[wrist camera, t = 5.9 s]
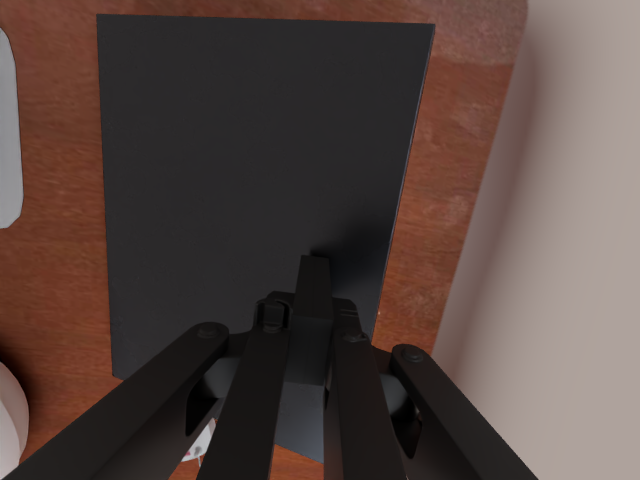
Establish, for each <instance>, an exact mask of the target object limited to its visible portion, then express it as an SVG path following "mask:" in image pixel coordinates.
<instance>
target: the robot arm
mask: <svg viewBox="0 0 640 480" xmlns="http://www.w3.org/2000/svg"><path fill="white" fill-rule="evenodd" d="M324 378H325V386H324V392H323V398H322V404H321V410H320V414H323V450H324V480H407V478H406V475H407V477H408V479H409V480H538V478H537V477H536V476H535V475H534V474H533V473H532V472H531V470H530V469H529V468H528V467H527V466H526V465H525V464H524V462H523V461H522V460H521V459H520V458H519V457H518V456H517V455H516V453H515V452H514V451H513V450H512V449H511V448H510V447H509V445H508V444H507V443H506V442H505V441H504V440H503V439H502V437H501V436H500V435H499V434H498V433H497V432H496V431H495V430H494V428H493V427H492V426H491V425H490V424H489V423H488V422H487V420H486V419H485V418H484V417H483V416H482V415H481V414H480V412H479V411H477V409H476V408H475V407H474V406H473V405H472V403H471V402H470V401H469V400H468V399H467V398H466V397H465V395H464V394H463V393H462V392H461V391H460V390H459V389H458V388H457V386H456V385H455V384H454V383H453V382H452V381H451V380H450V378H449V377H448V376H447V375H446V374H445V373H444V372H443V370H442V369H441V368H440V367H439V366H438V365H437V364H436V362H435V361H434V360H433V359H432V358H431V357H430V356H429V355H428V354H427V353H426V352H425V351H424V350H422V349H420V348H418V347H417V346H414V345H410V344H399V345H396V346H394V347H393V349H392V353H390V352H387V351H384V350H381V349H378V348H376V347H374V346H372V345H371V341H370V338H369V337H368V335H367V334H366V333H364V332H363V331H362V328H361V324H360V319H359V315H358V311H357V307H356V305H355V304H354V303H353V302H352V301H351V300H350V299H343V298H335V297H332V290H331V279H330V267H329V258H323V257H315V256H308V255H301V260H300V266H299V272H298V278H297V284H296V290H295V293H289V292H281V291H272V292H271V293H269V294H268V295H267V297H266V298H264V299H261V300H259V301H257V302H256V303H255V308H254V319H253V326H252V329H251V330H249V331H247V332H243V333H237V334H229V329H228V328H227V327H226V326H225V325H223V324H221V323H217V322H203V323H199V324H196V325H194V326H192V327H191V328H189V329H188V330H187V331H186V332H184V333H183V334H182V335H181V336H179V337H178V338H177V339H176V340H174V341H173V342H172V343H171V344H169V345H168V346H167V347H166V348H165V349H163V350H162V351H161V352H160V353H158V354H157V355H156V356H155V357H153V358H152V359H151V360H150V361H148V362H147V363H146V364H145V365H143V366H142V367H141V368H140V369H138V370H137V371H136V372H135V373H133V374H132V375H131V376H130V377H128V378H127V379H126V380H125V381H123V382H122V383H121V384H120V385H118V386H117V387H116V388H115V389H113V390H112V391H111V392H110V393H108V394H107V395H106V396H105V397H103V398H102V399H101V400H100V401H98V402H97V403H96V404H95V405H93V406H92V407H91V408H90V409H88V410H87V411H86V412H85V413H83V414H82V415H81V416H80V417H78V418H77V419H76V420H75V421H74V422H72V423H71V424H70V425H69V426H67V427H66V428H65V429H64V430H62V431H61V432H60V433H59V434H57V435H56V436H55V437H54V438H52V439H51V440H50V441H49V442H47V443H46V444H45V445H44V446H42V447H41V448H40V449H39V450H37V451H36V452H35V453H34V454H32V455H31V456H30V457H29V458H27V459H26V460H25V461H24V462H22V463H21V464H20V465H19V466H17V467H16V468H15V469H14V470H12V471H11V472H10V473H9V474H7V475H6V476H5V477H4V478H2V479H1V480H168V478H169V477H170V476H171V474H172V473H173V471H174V470H175V469H176V467H177V466H178V465H179V463H180V462H181V460H182V459H183V458H184V456H185V455H186V453H187V452H188V451H189V449H190V448H191V447H192V445H193V444H194V442H195V441H196V440H197V438H198V437H199V436H200V434H201V433H202V431H203V430H204V429H205V427H206V426H207V425H208V423H209V422H210V420H211V419H212V418H213V416H214V415H215V413H216V412H217V411H218V409H219V408H220V407H221V405H222V404H223V401H224V399H225V397H226V399H225V402H224V405H223V408H222V410H221V413H220V416H219V418H218V421H217V424H216V426H215V429H214V432H213V435H212V437H211V440H210V443H209V445H208V448H207V451H206V453H205V456H204V459H203V462H202V464H201V467H200V470H199V472H198V475H197V478H196V480H269V479H270V473H271V466H272V459H273V452H274V445H275V439H276V432H277V425H278V418H279V411H280V405H281V398H282V391H283V383H284V382H290V383H299V384H308V385H316V386H323V384H324Z"/></svg>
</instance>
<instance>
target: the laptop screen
mask: <svg viewBox="0 0 640 480" xmlns="http://www.w3.org/2000/svg"><path fill="white" fill-rule="evenodd" d="M96 19H97V42H98V64H99V86H100V108H101V130H102V153H103V175H104V197H105V219H106V242H107V264H108V286H109V308H110V331H111V353H112V375H113V376H114V377H117V378H119V379H121V380H124V381H125V380H126V379H127V378H128V377H130V376H131V375H132V374H133V373H135V372H136V371H137V370H138V369H140V368H141V367H142V366H143V365H145V364H146V363H147V362H148V361H150V360H151V359H152V358H153V357H155V356H156V355H157V354H158V353H160V352H161V351H162V350H163V349H165V348H166V347H167V346H168V345H169V344H171V343H172V342H173V341H174V340H176V339H177V338H178V337H179V336H181V335H182V334H183V333H184V332H186V331H187V330H188V329H189V328H191V327H192V326H194V325H196V324H199V323H203V322H217V323H221V324H223V325H225V326H226V327H227V328H228V329H229V334H237V333H243V332H247V331H249V330H251V329H252V326H253V319H254V308H255V303H256V302H257V301H259V300H261V299H264V298H266V297H267V295H268V294H269V293H271V292H272V291H281V292H289V293H295V290H296V284H297V278H298V272H299V266H300V260H301V255H308V256H315V257H323V258H329V267H330V279H331V290H332V297H335V298H343V299H350V300H351V301H352V302H353V303H354V304H355V305H356V307H357V311H358V315H359V319H360V324H361V328H362V331H363V332H364V333H366V334H367V335H368V337H369V338H370V341H371V342H372V337H373V332H374V327H375V323H376V318H377V313H378V308H379V303H380V298H381V293H382V289H383V284H384V279H385V274H386V269H387V264H388V259H389V254H390V250H391V245H392V240H393V235H394V230H395V225H396V220H397V215H398V211H399V206H400V201H401V196H402V191H403V186H404V181H405V176H406V172H407V167H408V162H409V157H410V152H411V147H412V142H413V137H414V133H415V128H416V123H417V118H418V113H419V108H420V103H421V98H422V94H423V89H424V84H425V79H426V74H427V69H428V64H429V59H430V55H431V50H432V45H433V40H434V35H435V24H427V23H393V22H359V21H325V20H291V19H257V18H223V17H189V16H155V15H121V14H96ZM324 386H325V378H324V384H323V386H316V385H308V384H299V383H290V382H284V383H283V391H282V398H281V405H280V411H279V418H278V425H277V432H276V439H275V444H277V445H279V446H281V447H284V448H286V449H289V450H291V451H293V452H296V453H298V454H301V455H303V456H305V457H308V458H310V459H312V460H315V461H317V462H320V463H322V464H324V450H323V414H320V410H321V404H322V398H323V392H324ZM225 399H226V397H225ZM225 399H224V401H223V404H222V405H221V407H220V408H219V409H218V411H217V412H216V413H215V415H214V416H213V418H215V419H217V420H218V418H219V416H220V413H221V410H222V408H223V405H224V402H225Z"/></svg>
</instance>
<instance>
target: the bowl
mask: <svg viewBox="0 0 640 480" xmlns="http://www.w3.org/2000/svg"><path fill="white" fill-rule="evenodd" d="M28 426H29V410H28V403H27V400H26V397H25V394H24V391H23V390H22V388H21V386H20V384H19V382H18V381H17V379H16V378H15V377H14V376H13V374H12V373H11V372H10V371H9V369H8V368H7V367H6V366H5V365H4V364H2V363H1V362H0V480H1V479H2V478H4V477H5V476H6V475H7V474H9V473H10V472H11V471H12V470H14V469H15V468H16V467H17V466H18V464H19V458H20V457H21V455H22V453H23V451H24V449H25V447H26V441H27V436H28Z"/></svg>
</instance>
